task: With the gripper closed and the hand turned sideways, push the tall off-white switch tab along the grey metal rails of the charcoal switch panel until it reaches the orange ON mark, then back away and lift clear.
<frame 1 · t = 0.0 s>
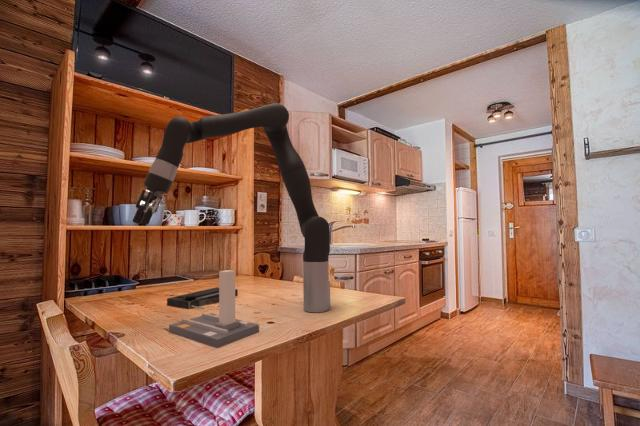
hand: (140, 223, 97), 31 cm above the table, tool tilted 20°, fingers open, 8 cm apart
black rectangular tray: (210, 302, 126), on the table
switch panel: (213, 331, 88), on the table
switch tab: (227, 299, 85), point 10 cm above the table, slide at 0.0 cm
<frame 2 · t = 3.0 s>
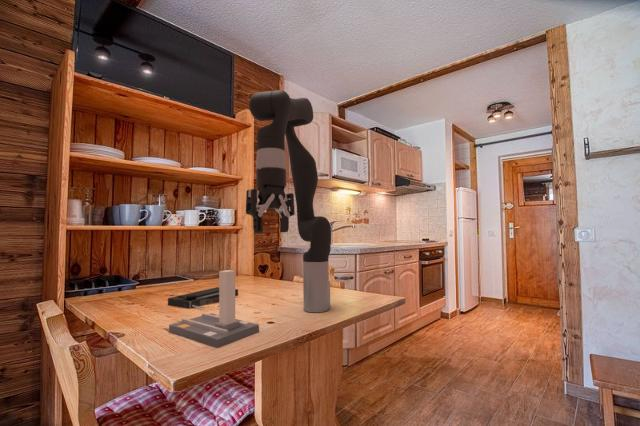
hand: (271, 232, 77), 28 cm above the table, tool pointing down, fingers open, 8 cm apart
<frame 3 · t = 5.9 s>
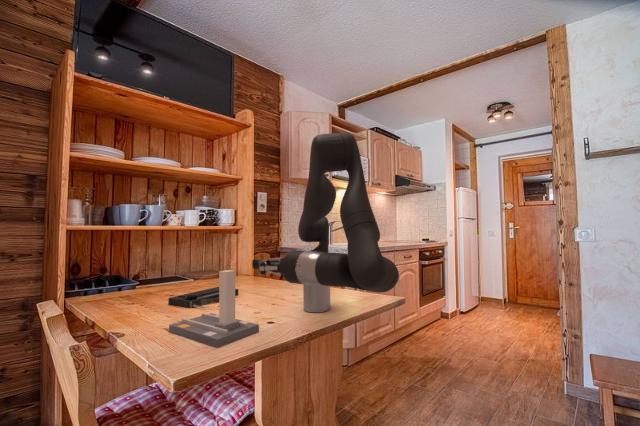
hand: (254, 263, 79), 20 cm above the table, tool horizontal, fingers closed
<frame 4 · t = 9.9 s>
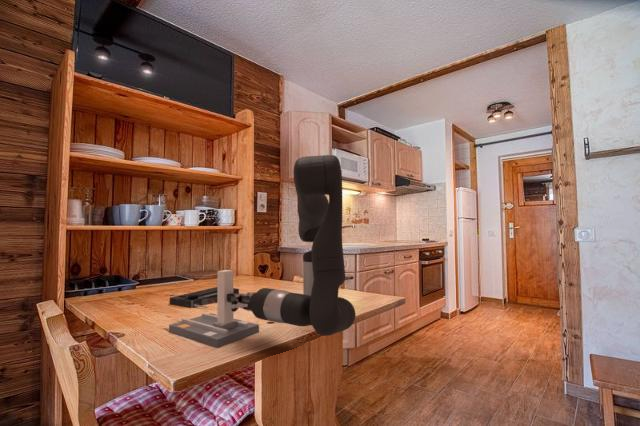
hand: (229, 297, 84), 10 cm above the table, tool horizontal, fingers closed
switch tab: (225, 298, 85), point 10 cm above the table, slide at 0.8 cm, touching gripper
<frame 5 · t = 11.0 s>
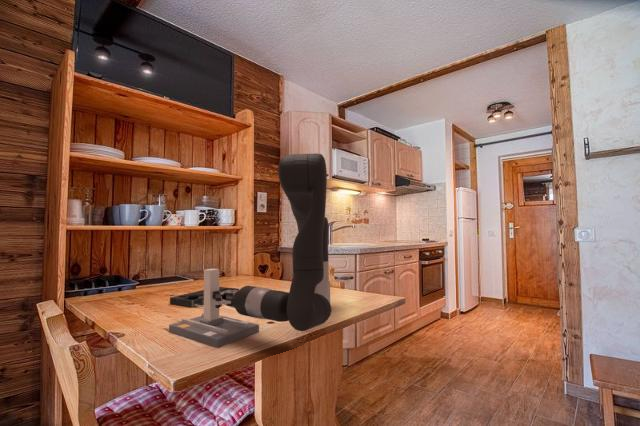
hand: (214, 294, 88), 10 cm above the table, tool horizontal, fingers closed
switch tab: (211, 296, 89), point 10 cm above the table, slide at 7.0 cm, touching gripper
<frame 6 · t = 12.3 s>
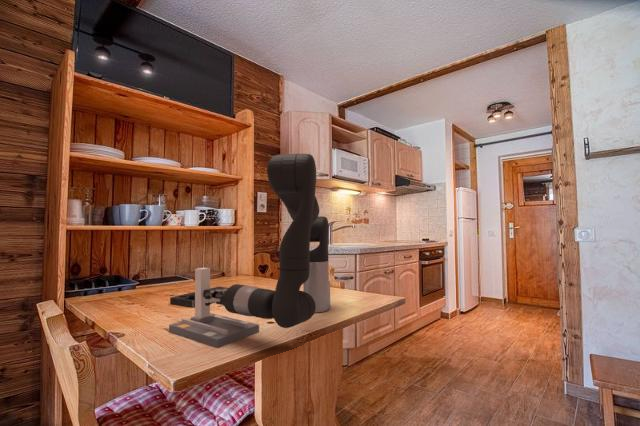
hand: (205, 293, 90), 10 cm above the table, tool horizontal, fingers closed
switch tab: (202, 294, 91), point 10 cm above the table, slide at 11.3 cm, touching gripper
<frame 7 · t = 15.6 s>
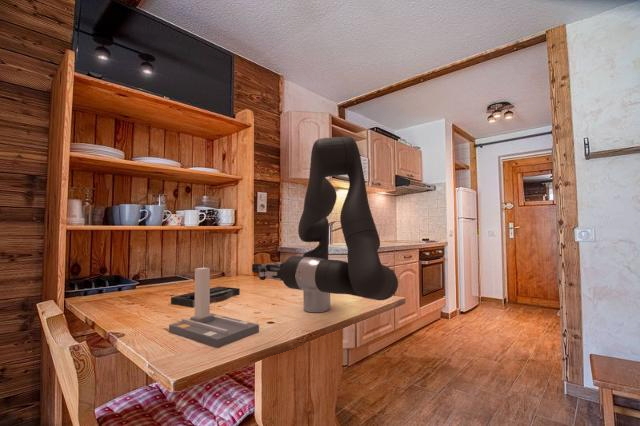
hand: (254, 267, 79), 19 cm above the table, tool horizontal, fingers closed
switch tab: (202, 294, 91), point 10 cm above the table, slide at 11.5 cm
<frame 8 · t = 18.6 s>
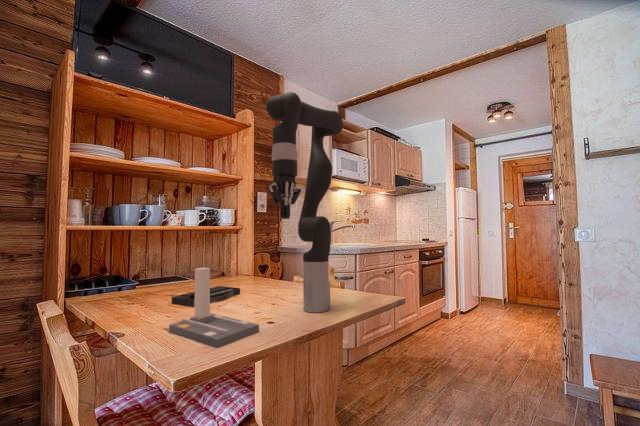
hand: (285, 218, 91), 32 cm above the table, tool pointing down, fingers closed
at the end: switch tab slide at 11.5 cm; black rectangular tray moved 3.0 cm from its start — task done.
